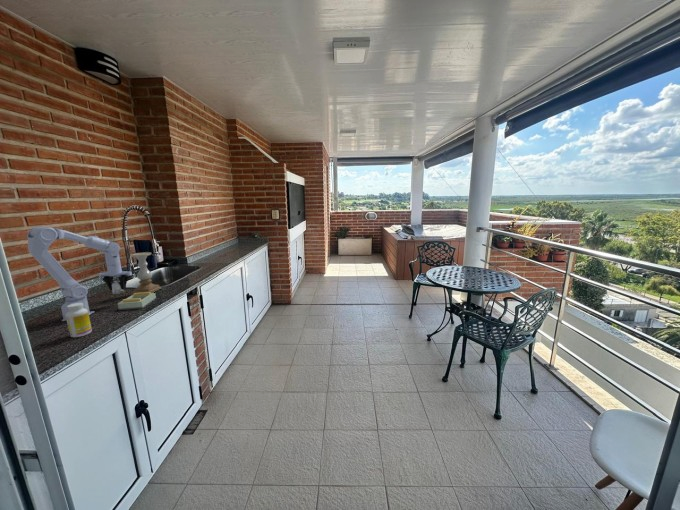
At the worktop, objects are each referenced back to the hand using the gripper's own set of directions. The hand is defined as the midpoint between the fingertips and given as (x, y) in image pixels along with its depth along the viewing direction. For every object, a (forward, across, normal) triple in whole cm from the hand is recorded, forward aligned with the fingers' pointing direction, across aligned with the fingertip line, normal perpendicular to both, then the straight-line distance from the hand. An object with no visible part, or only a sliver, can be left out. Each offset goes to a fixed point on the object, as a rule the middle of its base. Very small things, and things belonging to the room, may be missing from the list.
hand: (118, 289), depth 145 cm
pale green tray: (+8, -10, +3) cm, 13 cm away
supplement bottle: (+8, -5, +36) cm, 37 cm away
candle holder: (+8, -4, -19) cm, 21 cm away
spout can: (+2, 0, 0) cm, 2 cm away
